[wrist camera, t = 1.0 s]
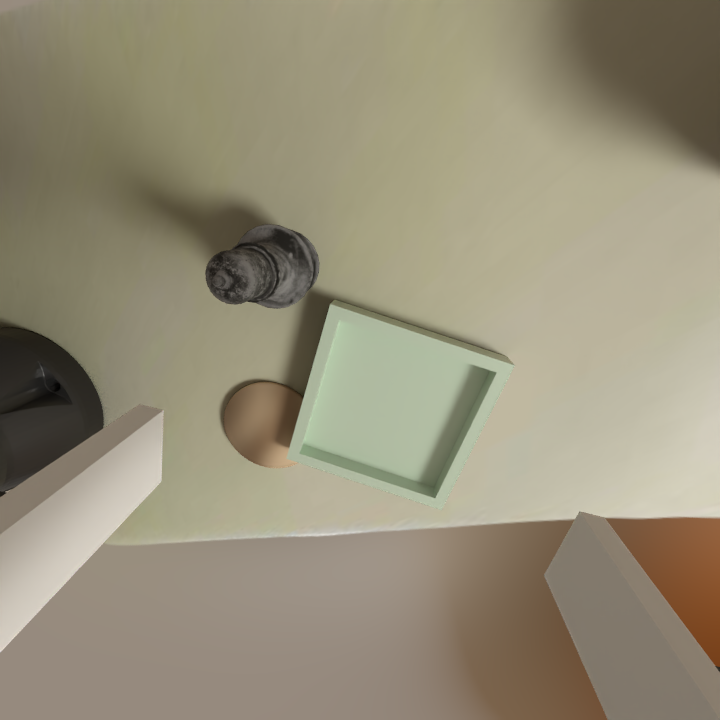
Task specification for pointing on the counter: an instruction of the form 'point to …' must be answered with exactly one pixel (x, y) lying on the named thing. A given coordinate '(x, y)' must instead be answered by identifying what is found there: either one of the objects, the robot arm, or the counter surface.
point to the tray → (395, 404)
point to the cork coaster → (263, 422)
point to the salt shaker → (264, 268)
